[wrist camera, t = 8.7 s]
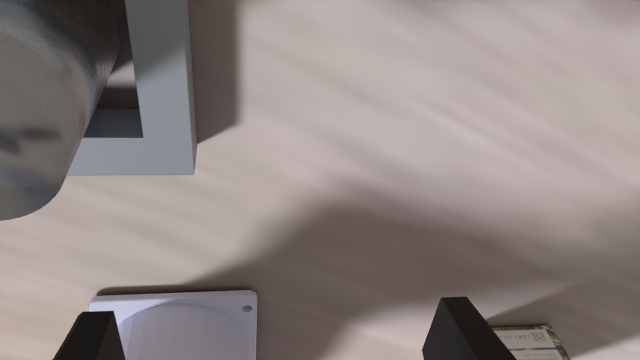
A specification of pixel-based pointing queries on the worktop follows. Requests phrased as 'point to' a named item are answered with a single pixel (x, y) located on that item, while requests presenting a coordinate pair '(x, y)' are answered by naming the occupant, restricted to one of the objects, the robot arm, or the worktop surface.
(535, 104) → the worktop surface
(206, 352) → the robot arm
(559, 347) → the syrup box
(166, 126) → the jig
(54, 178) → the cylinder
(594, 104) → the worktop surface
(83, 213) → the worktop surface
